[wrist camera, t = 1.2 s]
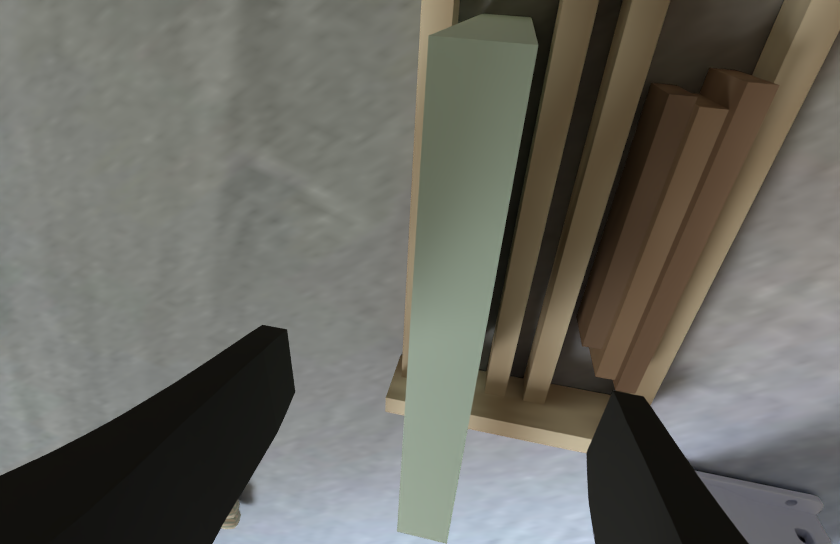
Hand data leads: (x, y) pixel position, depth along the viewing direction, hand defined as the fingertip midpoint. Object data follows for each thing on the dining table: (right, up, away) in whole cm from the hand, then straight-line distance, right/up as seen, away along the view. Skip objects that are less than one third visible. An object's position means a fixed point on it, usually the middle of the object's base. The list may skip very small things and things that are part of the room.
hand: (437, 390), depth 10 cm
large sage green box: (+2, +5, +9) cm, 10 cm away
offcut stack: (+8, +4, +8) cm, 12 cm away
